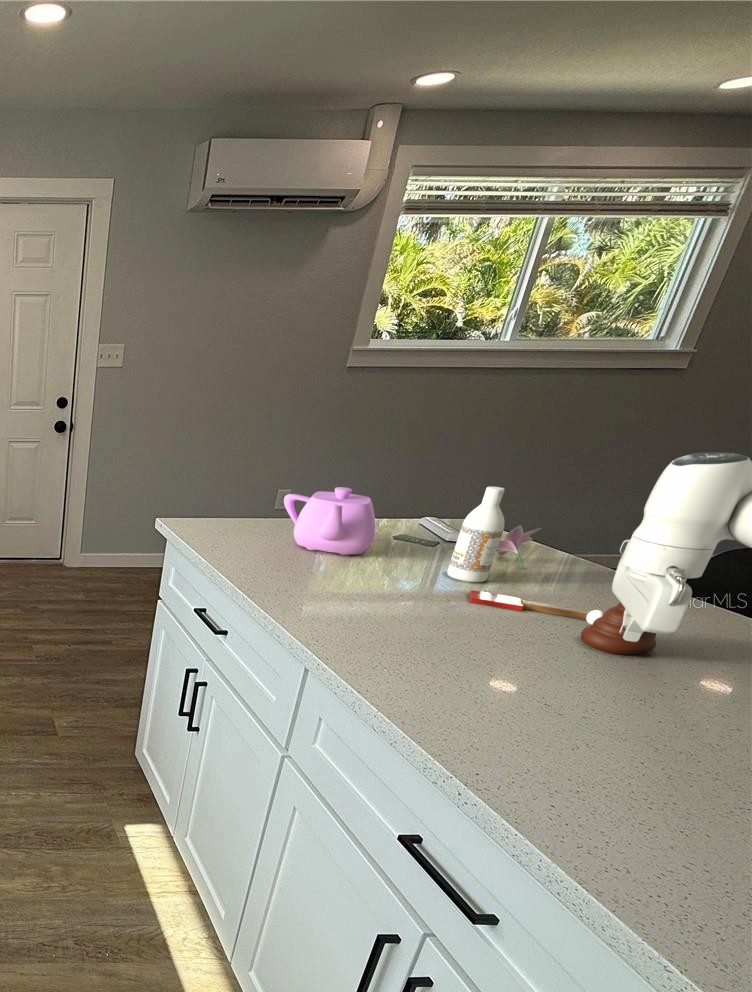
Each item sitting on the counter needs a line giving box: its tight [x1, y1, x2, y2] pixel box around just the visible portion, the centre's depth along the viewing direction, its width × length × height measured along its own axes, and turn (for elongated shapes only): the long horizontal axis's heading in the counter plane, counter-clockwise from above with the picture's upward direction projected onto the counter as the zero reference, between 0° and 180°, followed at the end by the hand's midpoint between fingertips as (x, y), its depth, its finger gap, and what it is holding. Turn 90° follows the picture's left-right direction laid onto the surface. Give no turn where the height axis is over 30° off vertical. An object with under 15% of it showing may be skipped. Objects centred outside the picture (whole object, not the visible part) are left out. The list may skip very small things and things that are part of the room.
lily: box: [496, 525, 542, 569], centre depth 146 cm, size 12×12×10 cm
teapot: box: [283, 486, 376, 556], centre depth 155 cm, size 23×21×15 cm
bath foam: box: [446, 486, 506, 583], centre depth 135 cm, size 7×7×20 cm
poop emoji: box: [580, 601, 657, 656], centre depth 107 cm, size 10×8×9 cm
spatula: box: [468, 589, 592, 621], centre depth 123 cm, size 22×5×1 cm, turn 56°
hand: (627, 638), depth 104 cm, fingers closed
